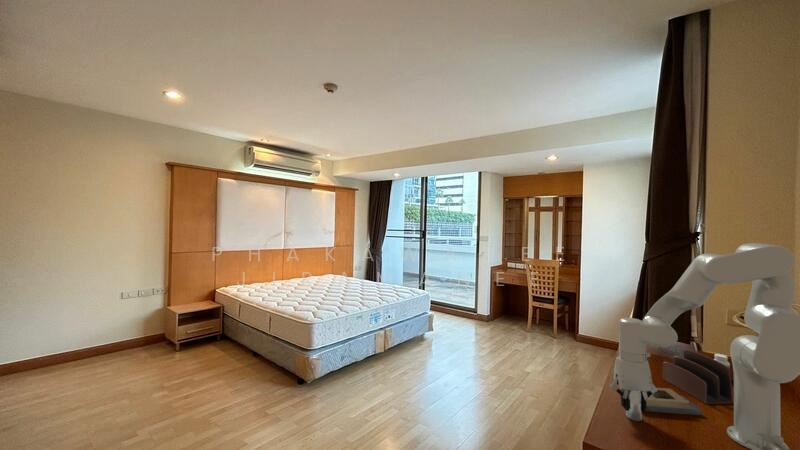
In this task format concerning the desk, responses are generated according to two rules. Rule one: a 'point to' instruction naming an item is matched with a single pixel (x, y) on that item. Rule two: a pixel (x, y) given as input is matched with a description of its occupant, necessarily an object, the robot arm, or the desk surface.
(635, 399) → the steel pin
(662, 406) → the square hole plate
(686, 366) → the letter holder
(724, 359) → the supplement bottle
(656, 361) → the desk surface
